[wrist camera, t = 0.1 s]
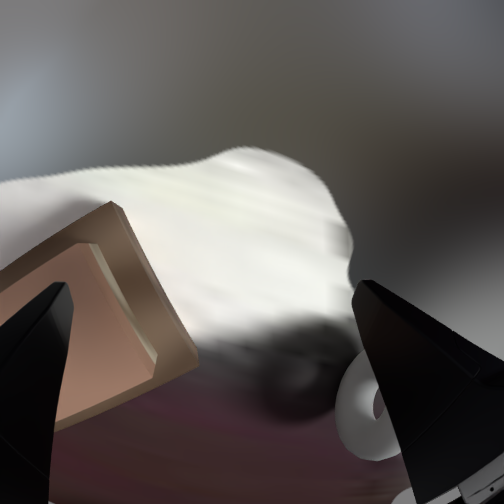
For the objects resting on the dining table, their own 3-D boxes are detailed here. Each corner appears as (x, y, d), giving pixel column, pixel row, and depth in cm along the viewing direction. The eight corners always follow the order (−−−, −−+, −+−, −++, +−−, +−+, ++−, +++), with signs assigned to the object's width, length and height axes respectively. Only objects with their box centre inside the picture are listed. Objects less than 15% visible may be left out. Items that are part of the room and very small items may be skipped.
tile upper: (155, 364, 18) (152, 377, 16) (57, 410, 16) (47, 425, 14) (88, 243, 17) (77, 242, 15) (-5, 302, 15) (-21, 308, 13)
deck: (196, 347, 24) (199, 365, 20) (61, 412, 22) (46, 435, 18) (122, 208, 23) (110, 200, 19) (-8, 290, 20) (-34, 296, 16)
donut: (344, 427, 27) (401, 482, 17) (314, 424, 26) (367, 486, 16) (383, 332, 27) (459, 362, 18) (354, 324, 27) (429, 356, 17)
